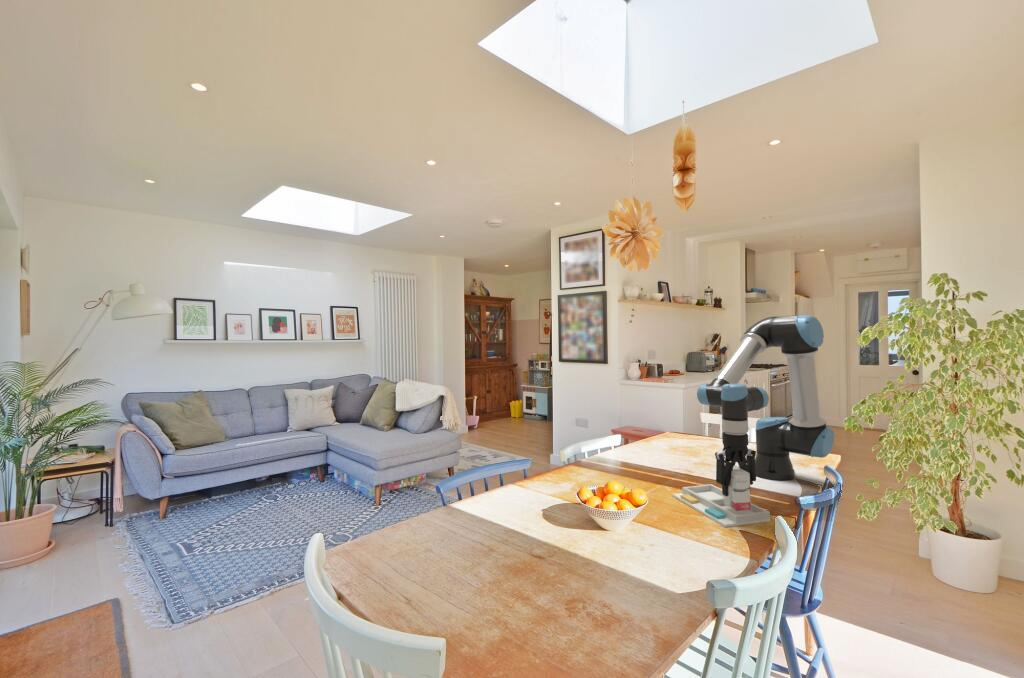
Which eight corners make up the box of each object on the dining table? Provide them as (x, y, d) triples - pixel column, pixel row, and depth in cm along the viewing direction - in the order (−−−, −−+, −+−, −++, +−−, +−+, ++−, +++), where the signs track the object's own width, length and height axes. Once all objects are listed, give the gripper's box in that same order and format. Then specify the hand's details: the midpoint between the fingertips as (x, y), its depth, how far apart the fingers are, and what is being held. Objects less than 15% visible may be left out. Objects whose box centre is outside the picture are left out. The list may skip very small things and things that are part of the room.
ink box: (752, 510, 144) (750, 472, 144) (736, 511, 144) (734, 473, 144) (738, 500, 153) (736, 464, 153) (723, 501, 153) (721, 465, 153)
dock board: (711, 491, 170) (711, 484, 170) (770, 521, 143) (769, 512, 143) (672, 496, 166) (672, 488, 166) (725, 527, 139) (724, 518, 139)
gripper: (751, 428, 154) (753, 497, 154) (702, 432, 150) (703, 503, 150) (768, 432, 147) (770, 505, 147) (717, 437, 142) (719, 512, 143)
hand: (736, 504), depth 148 cm, fingers closed on ink box, 6 cm apart
